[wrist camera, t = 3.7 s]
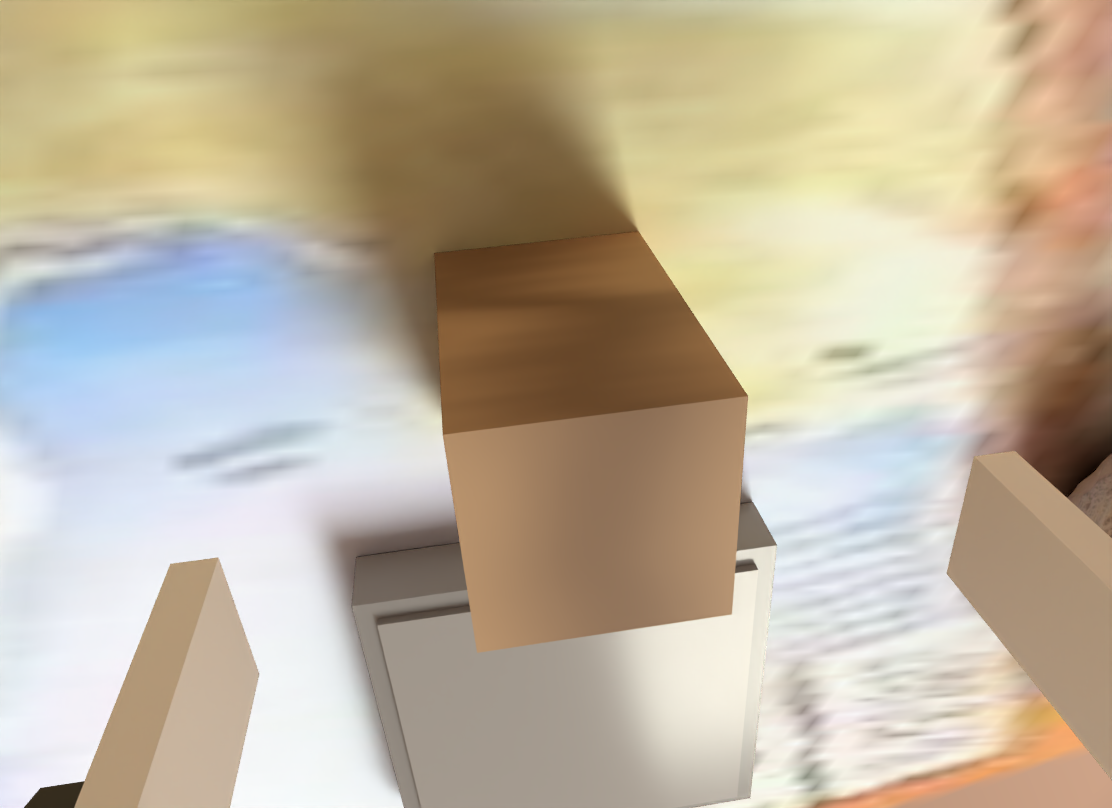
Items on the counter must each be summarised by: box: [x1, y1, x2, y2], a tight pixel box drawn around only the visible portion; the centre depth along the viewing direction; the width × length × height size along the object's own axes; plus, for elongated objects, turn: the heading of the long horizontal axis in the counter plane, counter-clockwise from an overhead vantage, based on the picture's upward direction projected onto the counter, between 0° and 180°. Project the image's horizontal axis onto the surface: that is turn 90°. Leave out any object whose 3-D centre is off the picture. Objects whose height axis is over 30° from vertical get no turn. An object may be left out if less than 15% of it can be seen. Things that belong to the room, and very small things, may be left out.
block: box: [434, 231, 748, 653], centre depth 18 cm, size 5×5×8 cm
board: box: [352, 502, 777, 808], centre depth 27 cm, size 12×12×2 cm
